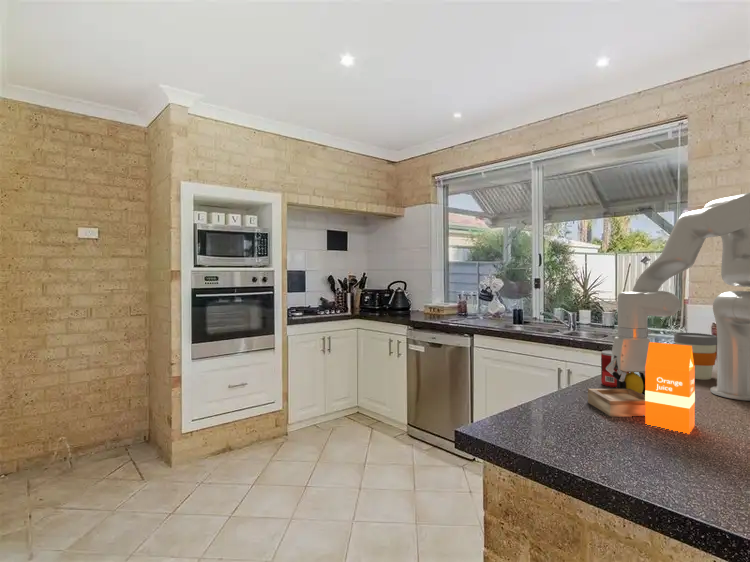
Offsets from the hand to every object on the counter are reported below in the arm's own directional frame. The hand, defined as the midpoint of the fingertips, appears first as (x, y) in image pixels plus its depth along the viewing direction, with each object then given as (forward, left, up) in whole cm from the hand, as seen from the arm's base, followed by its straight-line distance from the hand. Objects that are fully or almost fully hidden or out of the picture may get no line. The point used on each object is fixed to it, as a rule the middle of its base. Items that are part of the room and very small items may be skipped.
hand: (632, 393), depth 124 cm
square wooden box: (+9, +10, -1) cm, 14 cm away
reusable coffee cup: (-38, -27, -2) cm, 47 cm away
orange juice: (+4, +22, -2) cm, 23 cm away
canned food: (-3, -15, -2) cm, 15 cm away
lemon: (0, 0, -2) cm, 2 cm away
